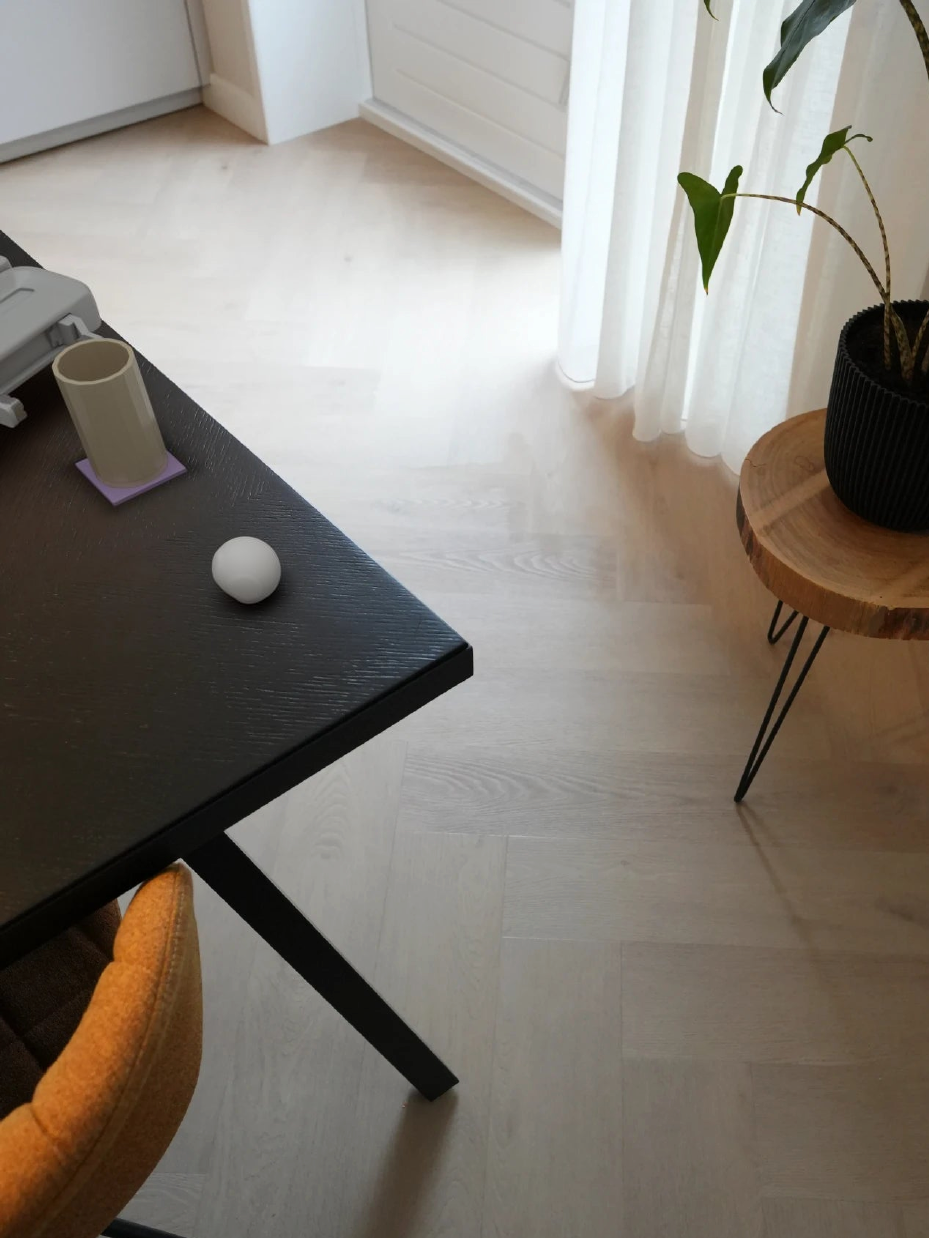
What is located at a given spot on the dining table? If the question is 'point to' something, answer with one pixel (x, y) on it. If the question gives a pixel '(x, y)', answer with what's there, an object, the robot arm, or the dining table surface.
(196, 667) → the dining table surface
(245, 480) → the dining table surface
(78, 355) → the cup
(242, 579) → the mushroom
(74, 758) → the dining table surface
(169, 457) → the napkin
